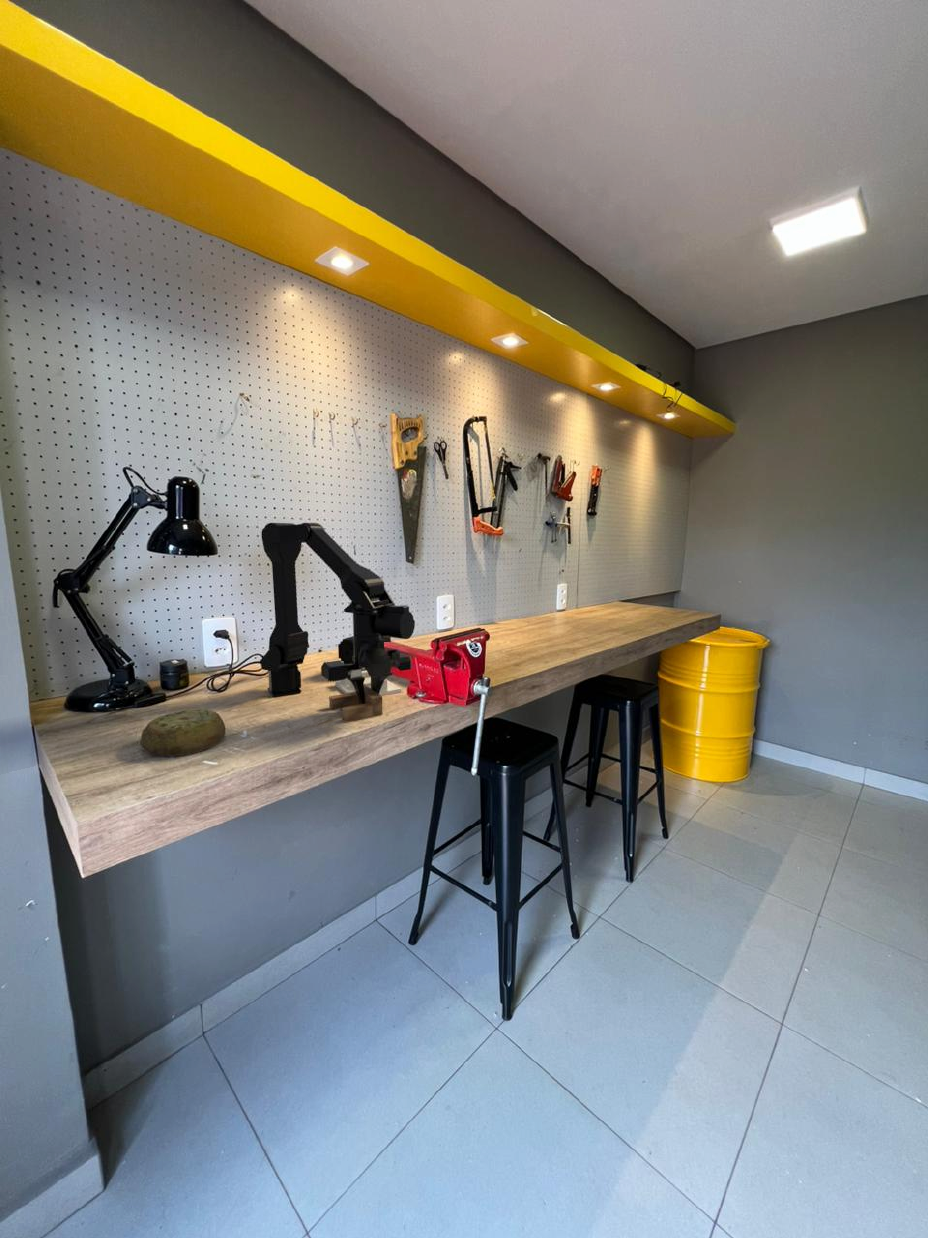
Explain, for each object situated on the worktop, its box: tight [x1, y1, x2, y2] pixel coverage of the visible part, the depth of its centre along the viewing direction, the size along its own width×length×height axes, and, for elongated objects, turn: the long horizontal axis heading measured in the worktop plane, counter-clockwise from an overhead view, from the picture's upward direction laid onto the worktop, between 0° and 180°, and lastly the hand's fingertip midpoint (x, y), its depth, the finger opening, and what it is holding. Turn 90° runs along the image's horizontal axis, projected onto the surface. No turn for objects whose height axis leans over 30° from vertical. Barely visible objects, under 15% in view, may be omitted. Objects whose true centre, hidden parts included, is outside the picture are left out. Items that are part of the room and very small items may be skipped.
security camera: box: [337, 635, 392, 664], centre depth 138 cm, size 7×18×10 cm, turn 155°
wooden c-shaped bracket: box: [328, 684, 383, 723], centre depth 106 cm, size 8×10×4 cm
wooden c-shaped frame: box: [334, 670, 402, 697], centre depth 121 cm, size 12×13×4 cm
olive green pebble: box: [140, 708, 226, 757], centre depth 90 cm, size 14×13×5 cm
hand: (368, 704), depth 108 cm, fingers closed on wooden c-shaped bracket, 2 cm apart
